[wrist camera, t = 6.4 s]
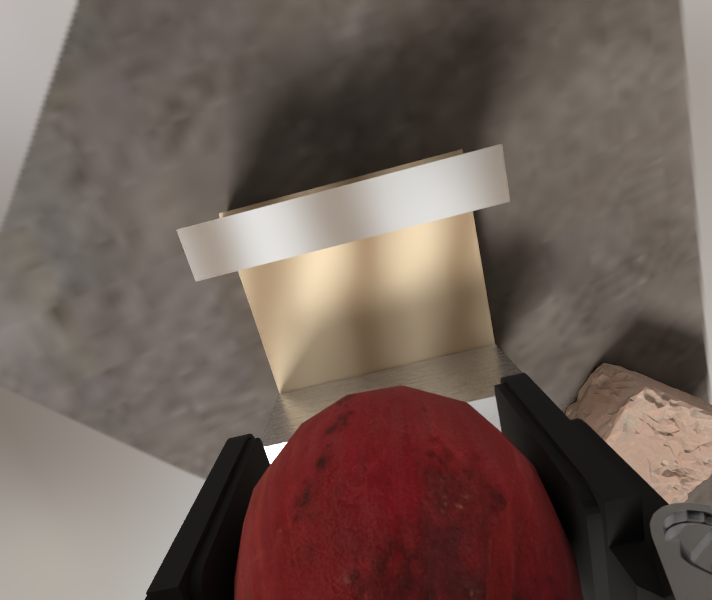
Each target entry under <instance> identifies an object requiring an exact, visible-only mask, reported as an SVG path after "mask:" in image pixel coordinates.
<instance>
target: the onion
mask: <svg viewBox="0 0 712 600" xmlns="http://www.w3.org/2000/svg"><path fill="white" fill-rule="evenodd" d="M234 600H584V599H583V593H582V588H581V583H580V578H579V573H578V568H577V563H576V558H575V554H574V552H573V549H572V547H571V545H570V543H569V540H568V538H567V536H566V534H565V531H564V529H563V527H562V525H561V523H560V520H559V518H558V516H557V514H556V511H555V509H554V507H553V505H552V503H551V500H550V498H549V496H548V494H547V492H546V490H545V488H544V486H543V483H542V481H541V479H540V477H539V475H538V473H537V471H536V469H535V466H534V465H533V464H532V463H531V462H530V461H529V460H528V458H527V457H526V456H525V455H524V454H523V453H522V452H521V451H520V450H519V449H518V448H517V447H516V446H515V445H514V444H513V442H512V441H511V440H510V439H509V438H508V437H507V436H505V435H504V434H503V433H502V432H501V431H500V430H498V429H497V428H496V427H495V426H494V425H493V424H492V423H490V422H489V421H488V420H487V419H486V418H485V417H483V416H482V415H481V414H480V413H479V412H478V411H477V410H475V409H474V408H473V407H472V406H471V405H470V404H468V403H467V402H464V401H460V400H456V399H453V398H449V397H445V396H441V395H438V394H434V393H430V392H426V391H423V390H419V389H415V388H411V387H408V386H403V385H400V386H394V387H388V388H383V389H377V390H371V391H366V392H360V393H354V394H349V395H346V396H344V397H343V398H341V399H339V400H338V401H336V402H335V403H333V404H332V405H330V406H328V407H327V408H325V409H324V410H322V411H321V412H319V413H317V414H316V415H314V416H313V417H311V418H310V419H308V420H307V421H305V422H303V423H302V424H301V425H300V426H299V427H298V429H297V430H296V431H295V433H294V434H293V435H292V437H291V438H290V439H289V440H288V442H287V443H286V444H285V446H284V447H283V448H282V450H281V451H280V452H279V453H278V455H277V456H276V457H275V459H274V460H273V461H272V463H271V464H270V466H269V467H268V468H267V470H266V471H265V473H264V474H263V476H262V477H261V479H260V480H259V482H258V483H257V484H256V486H255V487H254V489H253V492H252V496H251V499H250V503H249V506H248V509H247V513H246V516H245V519H244V523H243V528H242V534H241V540H240V547H239V553H238V559H237V565H236V572H235V578H234Z"/></svg>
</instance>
